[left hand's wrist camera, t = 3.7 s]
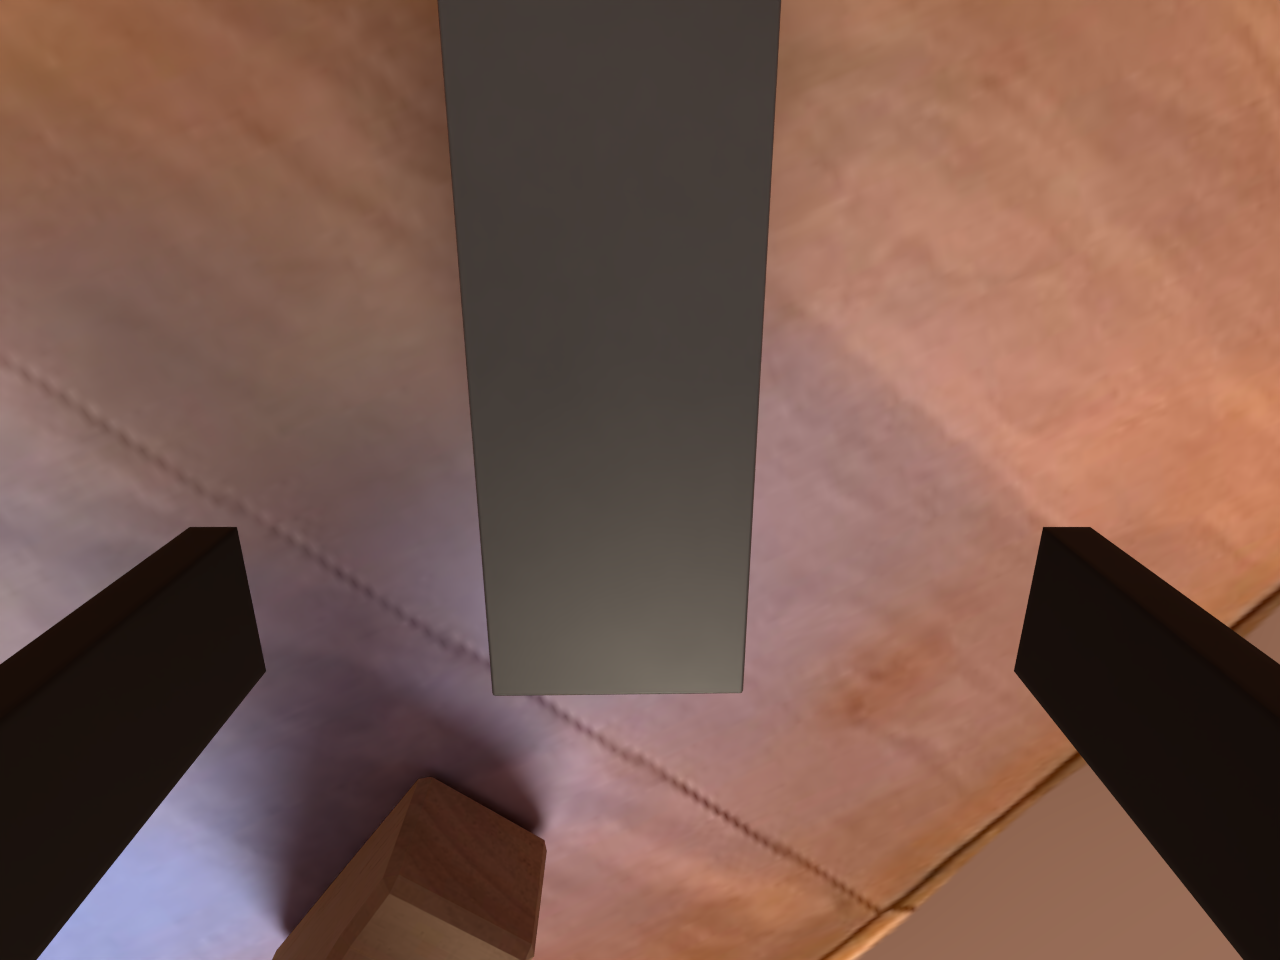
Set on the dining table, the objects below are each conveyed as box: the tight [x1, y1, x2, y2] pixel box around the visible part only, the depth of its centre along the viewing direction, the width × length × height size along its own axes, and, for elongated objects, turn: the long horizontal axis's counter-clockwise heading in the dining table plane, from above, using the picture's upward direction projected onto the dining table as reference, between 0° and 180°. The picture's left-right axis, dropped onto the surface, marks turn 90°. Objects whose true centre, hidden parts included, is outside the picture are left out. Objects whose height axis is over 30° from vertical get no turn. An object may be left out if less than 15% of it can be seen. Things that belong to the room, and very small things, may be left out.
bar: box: [438, 0, 781, 696], centre depth 16 cm, size 24×5×8 cm, turn 0°
